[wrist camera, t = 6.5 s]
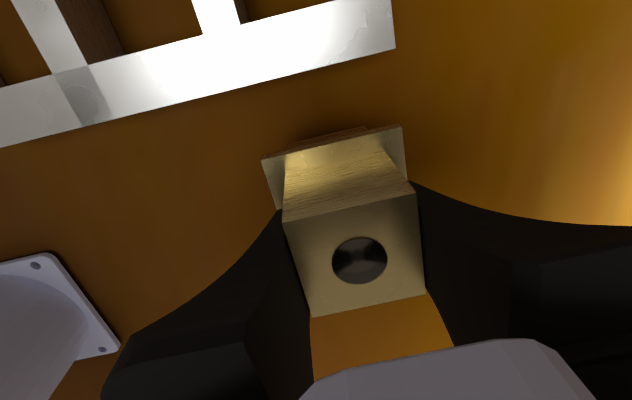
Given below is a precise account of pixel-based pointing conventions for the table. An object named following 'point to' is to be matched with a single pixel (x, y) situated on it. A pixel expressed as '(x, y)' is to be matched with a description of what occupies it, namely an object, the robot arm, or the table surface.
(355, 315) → the table surface
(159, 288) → the table surface
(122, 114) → the slotted metal bracket
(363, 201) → the tan block with hole
